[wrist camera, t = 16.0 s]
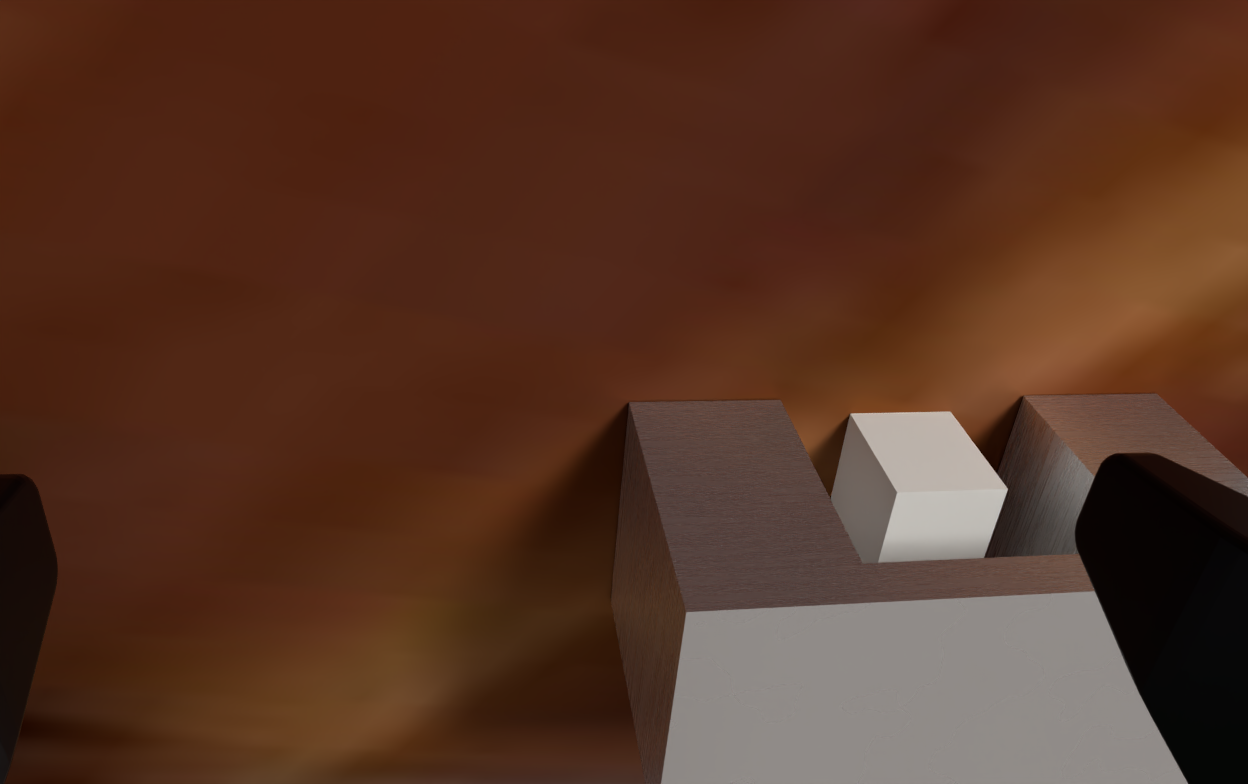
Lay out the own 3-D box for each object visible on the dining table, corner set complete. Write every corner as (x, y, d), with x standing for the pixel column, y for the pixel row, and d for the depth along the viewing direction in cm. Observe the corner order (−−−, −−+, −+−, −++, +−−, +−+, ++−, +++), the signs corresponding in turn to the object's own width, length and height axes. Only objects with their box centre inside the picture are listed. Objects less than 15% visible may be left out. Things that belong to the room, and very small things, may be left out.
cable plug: (819, 413, 24) (880, 524, 20) (979, 410, 24) (1063, 518, 21) (716, 898, 34) (744, 1025, 31) (830, 888, 35) (870, 1010, 31)
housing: (610, 600, 26) (653, 830, 20) (628, 402, 23) (686, 611, 17) (1079, 578, 28) (1231, 780, 22) (1156, 393, 25) (1355, 578, 19)
